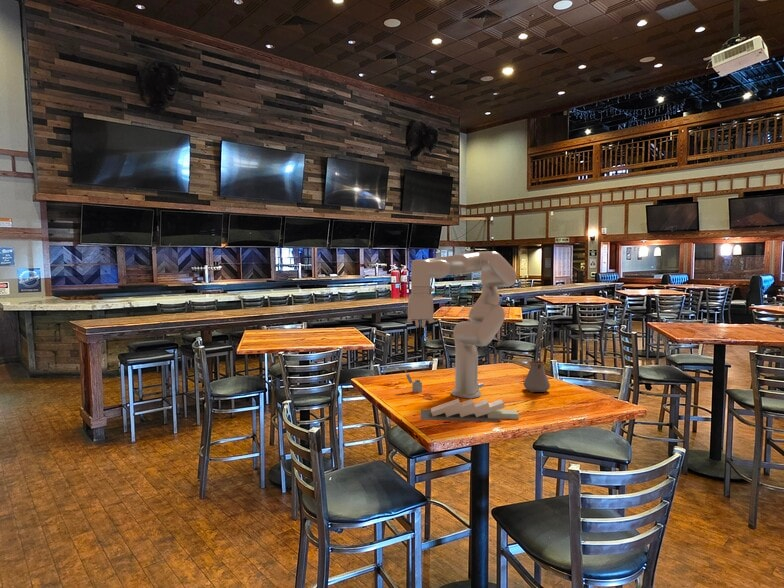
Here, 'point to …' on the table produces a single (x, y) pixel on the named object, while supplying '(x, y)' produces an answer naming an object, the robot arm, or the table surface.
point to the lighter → (415, 384)
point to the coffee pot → (536, 378)
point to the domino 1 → (445, 407)
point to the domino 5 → (503, 414)
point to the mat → (455, 417)
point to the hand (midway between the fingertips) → (420, 337)
